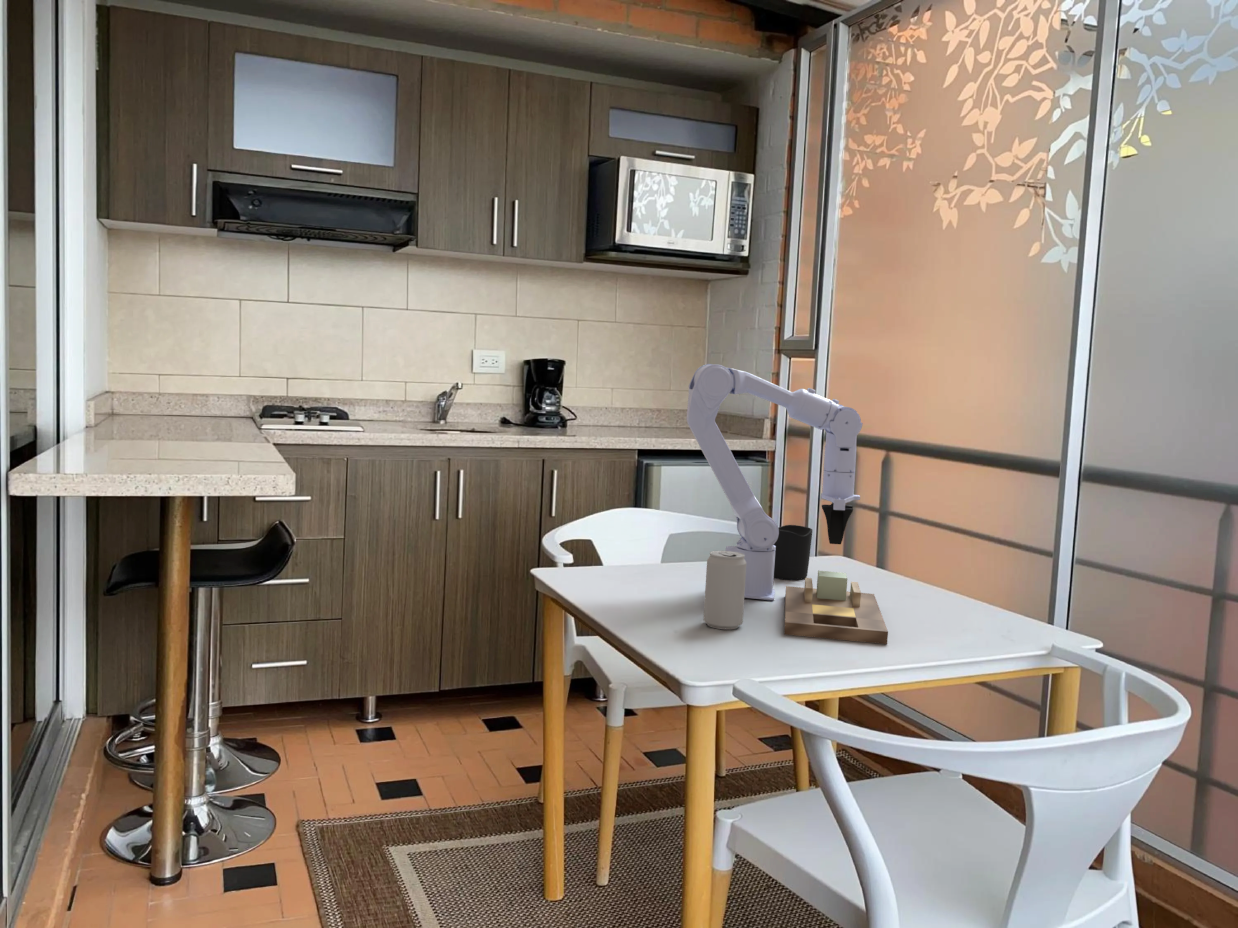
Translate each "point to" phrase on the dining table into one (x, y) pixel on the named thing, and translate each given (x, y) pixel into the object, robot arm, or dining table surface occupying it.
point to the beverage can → (725, 589)
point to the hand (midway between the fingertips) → (835, 543)
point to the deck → (834, 615)
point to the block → (831, 585)
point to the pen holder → (792, 552)
